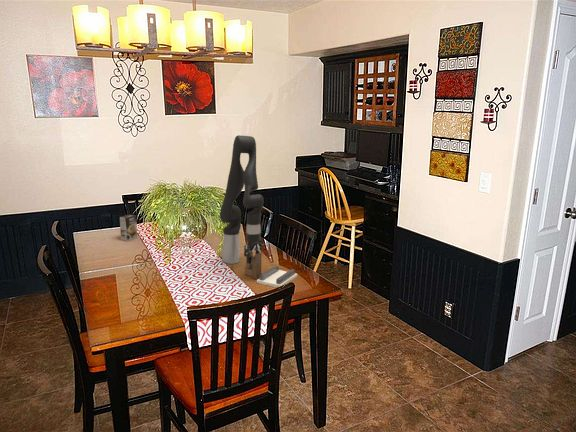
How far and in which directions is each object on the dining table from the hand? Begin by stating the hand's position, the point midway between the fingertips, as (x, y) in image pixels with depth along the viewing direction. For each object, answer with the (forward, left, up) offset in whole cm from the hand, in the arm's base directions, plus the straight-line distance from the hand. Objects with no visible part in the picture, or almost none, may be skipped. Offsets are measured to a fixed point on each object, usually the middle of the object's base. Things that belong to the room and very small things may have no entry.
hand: (253, 261), depth 234 cm
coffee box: (-107, +14, -9) cm, 108 cm away
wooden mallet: (0, 0, -9) cm, 9 cm away
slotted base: (+14, +2, -8) cm, 16 cm away
